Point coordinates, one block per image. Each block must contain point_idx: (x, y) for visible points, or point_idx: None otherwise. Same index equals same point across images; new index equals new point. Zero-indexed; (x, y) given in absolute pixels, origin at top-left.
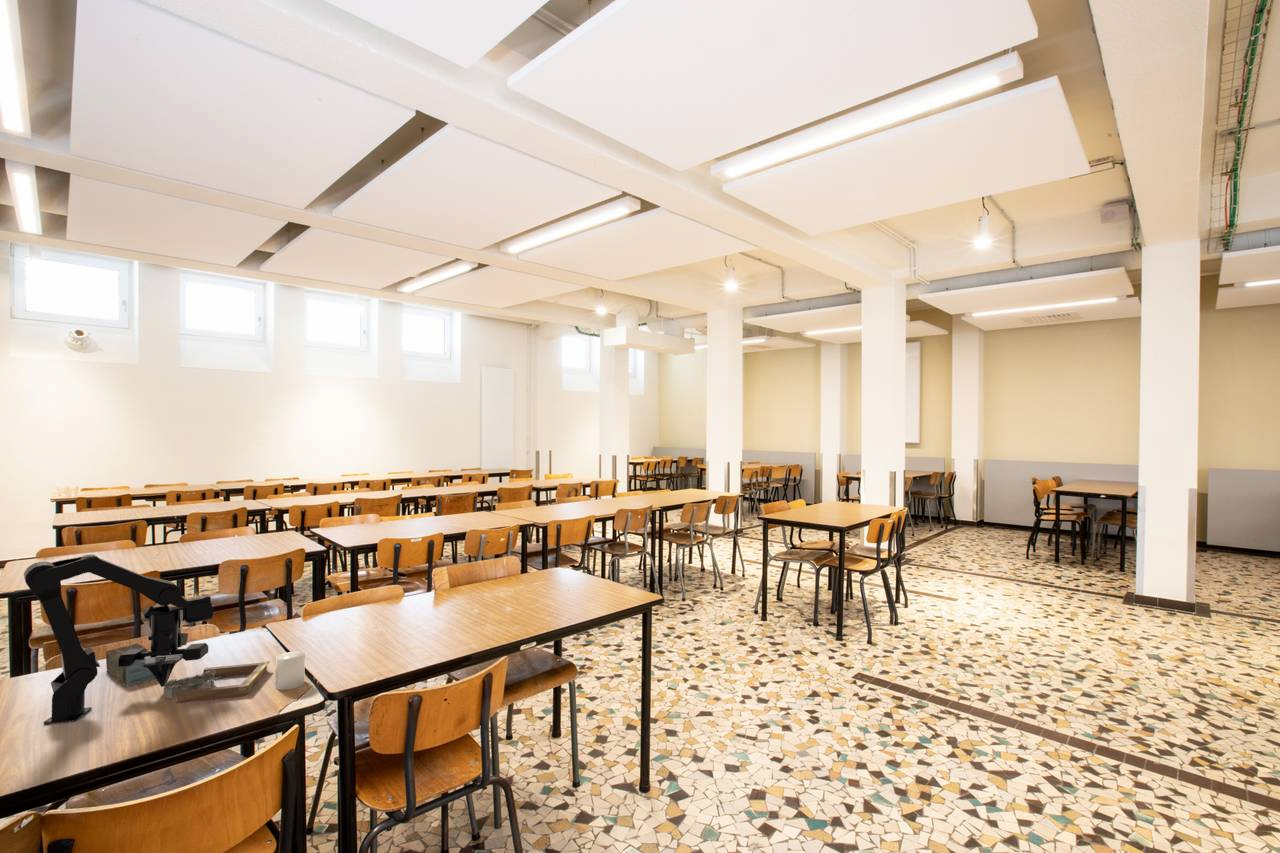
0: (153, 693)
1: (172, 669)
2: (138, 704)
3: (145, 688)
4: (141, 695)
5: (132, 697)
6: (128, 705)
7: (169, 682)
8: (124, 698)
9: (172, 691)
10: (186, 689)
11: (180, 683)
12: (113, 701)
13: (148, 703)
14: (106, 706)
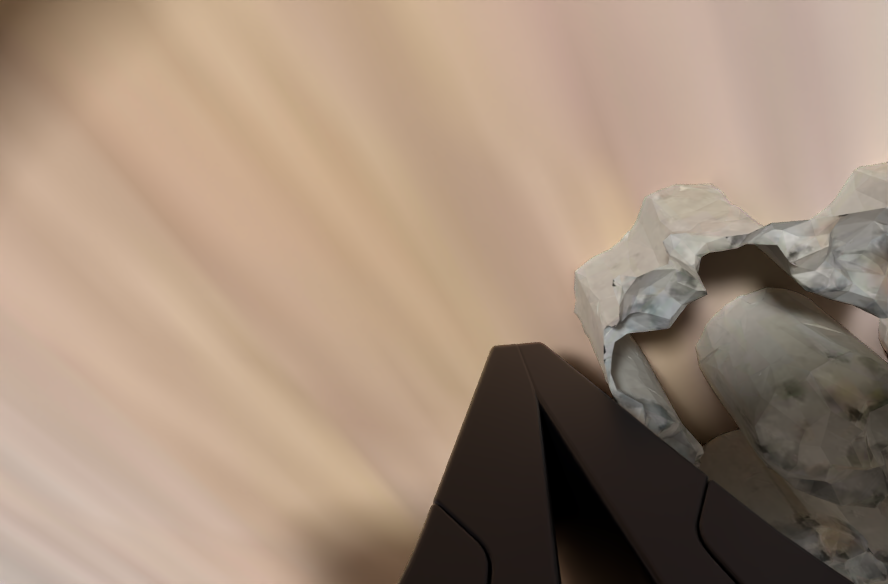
0: (378, 332)
1: (769, 532)
2: (395, 564)
3: (74, 100)
4: (246, 368)
5: (167, 407)
6: (302, 571)
7: None
8: (78, 419)
9: None
10: (886, 521)
11: (832, 497)
12: (13, 474)
13: None
14: (65, 565)
